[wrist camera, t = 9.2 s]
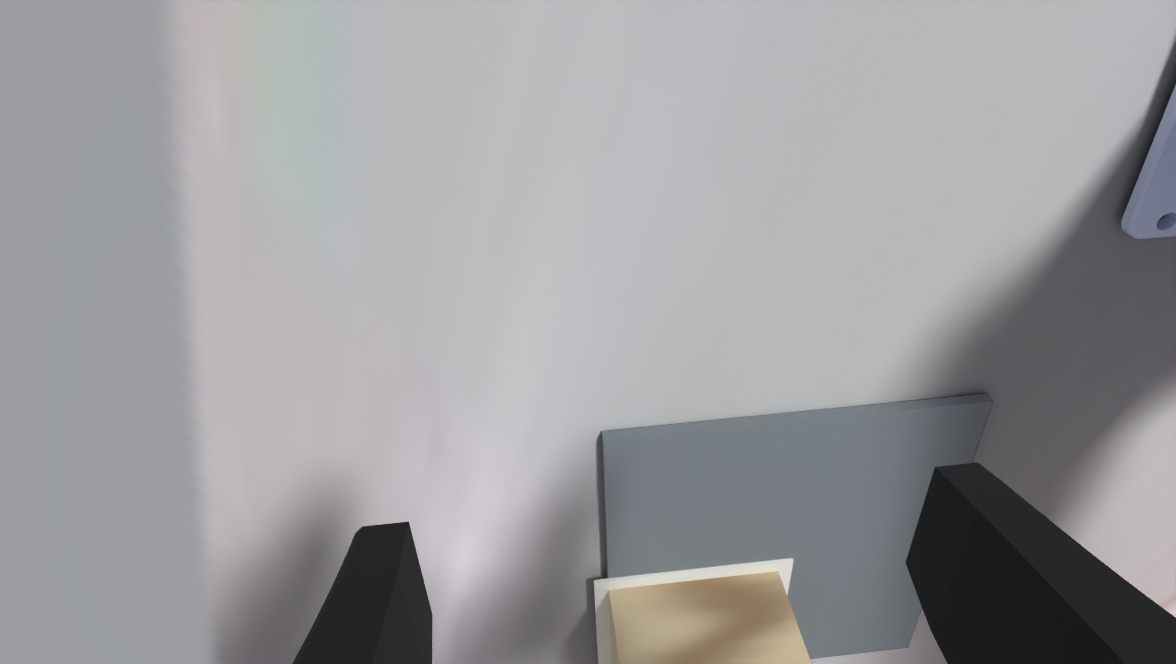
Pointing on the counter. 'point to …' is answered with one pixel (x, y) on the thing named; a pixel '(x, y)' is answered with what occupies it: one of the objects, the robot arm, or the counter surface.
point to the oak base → (706, 622)
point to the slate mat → (786, 510)
